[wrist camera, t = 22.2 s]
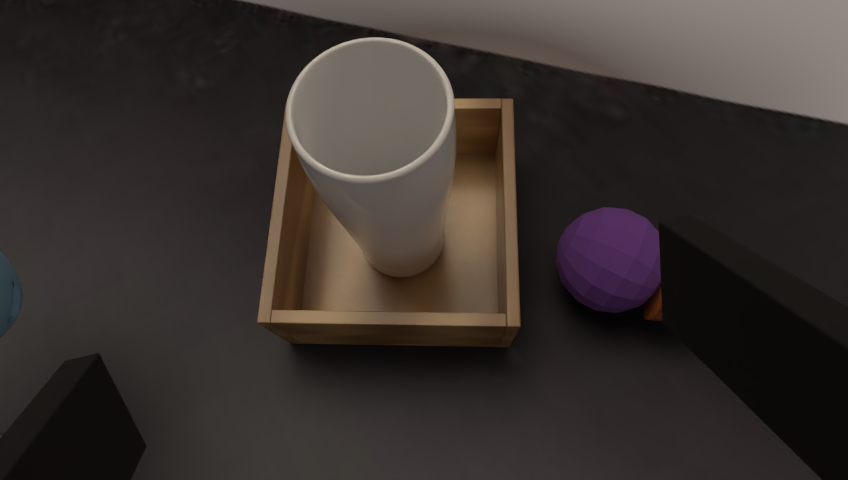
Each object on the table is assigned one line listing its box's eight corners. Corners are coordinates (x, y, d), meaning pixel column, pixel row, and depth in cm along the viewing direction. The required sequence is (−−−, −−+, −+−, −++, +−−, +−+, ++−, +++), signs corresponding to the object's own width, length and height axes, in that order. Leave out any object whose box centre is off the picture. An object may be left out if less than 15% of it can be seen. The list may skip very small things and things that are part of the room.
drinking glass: (477, 255, 35) (491, 126, 21) (383, 312, 34) (332, 216, 20) (421, 174, 37) (399, 7, 23) (331, 225, 36) (253, 83, 22)
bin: (289, 343, 34) (256, 322, 29) (310, 150, 39) (285, 99, 33) (509, 347, 34) (520, 327, 28) (504, 150, 38) (513, 98, 32)
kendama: (930, 475, 26) (546, 276, 29) (845, 448, 32) (532, 284, 35) (977, 362, 27) (597, 177, 30) (886, 355, 33) (575, 202, 36)
